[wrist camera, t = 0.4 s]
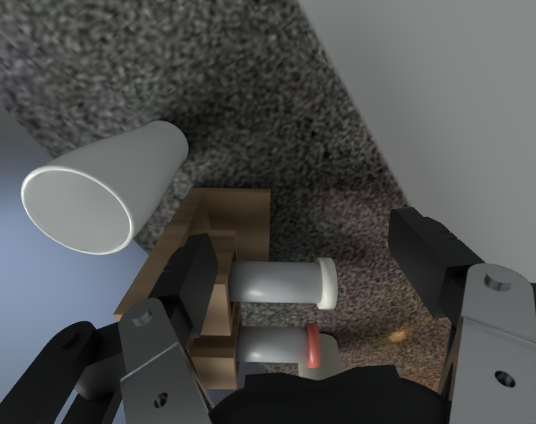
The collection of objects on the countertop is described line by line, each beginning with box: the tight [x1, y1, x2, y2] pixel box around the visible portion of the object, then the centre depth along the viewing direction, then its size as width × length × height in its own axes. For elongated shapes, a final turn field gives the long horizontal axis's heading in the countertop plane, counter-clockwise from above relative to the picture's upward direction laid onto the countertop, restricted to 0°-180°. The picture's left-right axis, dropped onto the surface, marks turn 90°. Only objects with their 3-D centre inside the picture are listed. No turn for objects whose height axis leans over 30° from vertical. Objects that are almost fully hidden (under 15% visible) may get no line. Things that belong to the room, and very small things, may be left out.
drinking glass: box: [21, 121, 189, 254], centre depth 22 cm, size 7×7×15 cm
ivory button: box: [228, 258, 338, 309], centre depth 24 cm, size 5×10×5 cm, turn 89°
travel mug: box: [298, 333, 343, 380], centre depth 42 cm, size 8×8×18 cm
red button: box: [235, 323, 321, 368], centre depth 30 cm, size 5×10×5 cm, turn 89°
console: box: [113, 187, 271, 389], centre depth 29 cm, size 20×10×18 cm, turn 179°
